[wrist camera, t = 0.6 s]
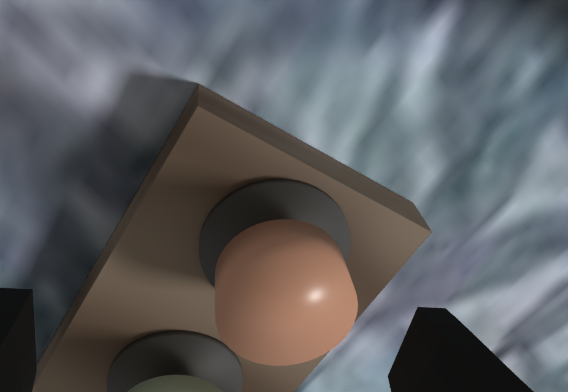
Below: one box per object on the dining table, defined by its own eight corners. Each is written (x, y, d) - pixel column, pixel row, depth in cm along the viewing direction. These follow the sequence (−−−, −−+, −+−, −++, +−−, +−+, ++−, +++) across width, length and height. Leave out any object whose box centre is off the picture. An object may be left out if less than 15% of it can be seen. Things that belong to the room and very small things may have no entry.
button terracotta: (298, 339, 18) (306, 381, 17) (191, 296, 17) (189, 338, 15) (369, 252, 17) (385, 290, 15) (258, 197, 15) (264, 232, 14)
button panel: (166, 501, 28) (163, 549, 26) (-17, 457, 24) (-37, 507, 22) (413, 202, 20) (435, 237, 18) (198, 83, 17) (197, 109, 15)
